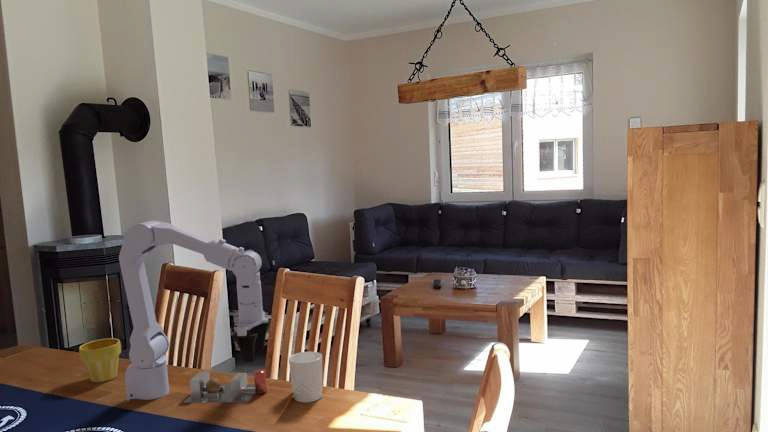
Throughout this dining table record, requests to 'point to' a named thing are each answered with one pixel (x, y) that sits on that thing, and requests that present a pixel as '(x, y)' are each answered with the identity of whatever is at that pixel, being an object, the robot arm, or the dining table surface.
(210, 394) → the bench
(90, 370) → the plant pot
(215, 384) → the nut
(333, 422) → the dining table surface
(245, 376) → the ram handle
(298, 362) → the white cup
